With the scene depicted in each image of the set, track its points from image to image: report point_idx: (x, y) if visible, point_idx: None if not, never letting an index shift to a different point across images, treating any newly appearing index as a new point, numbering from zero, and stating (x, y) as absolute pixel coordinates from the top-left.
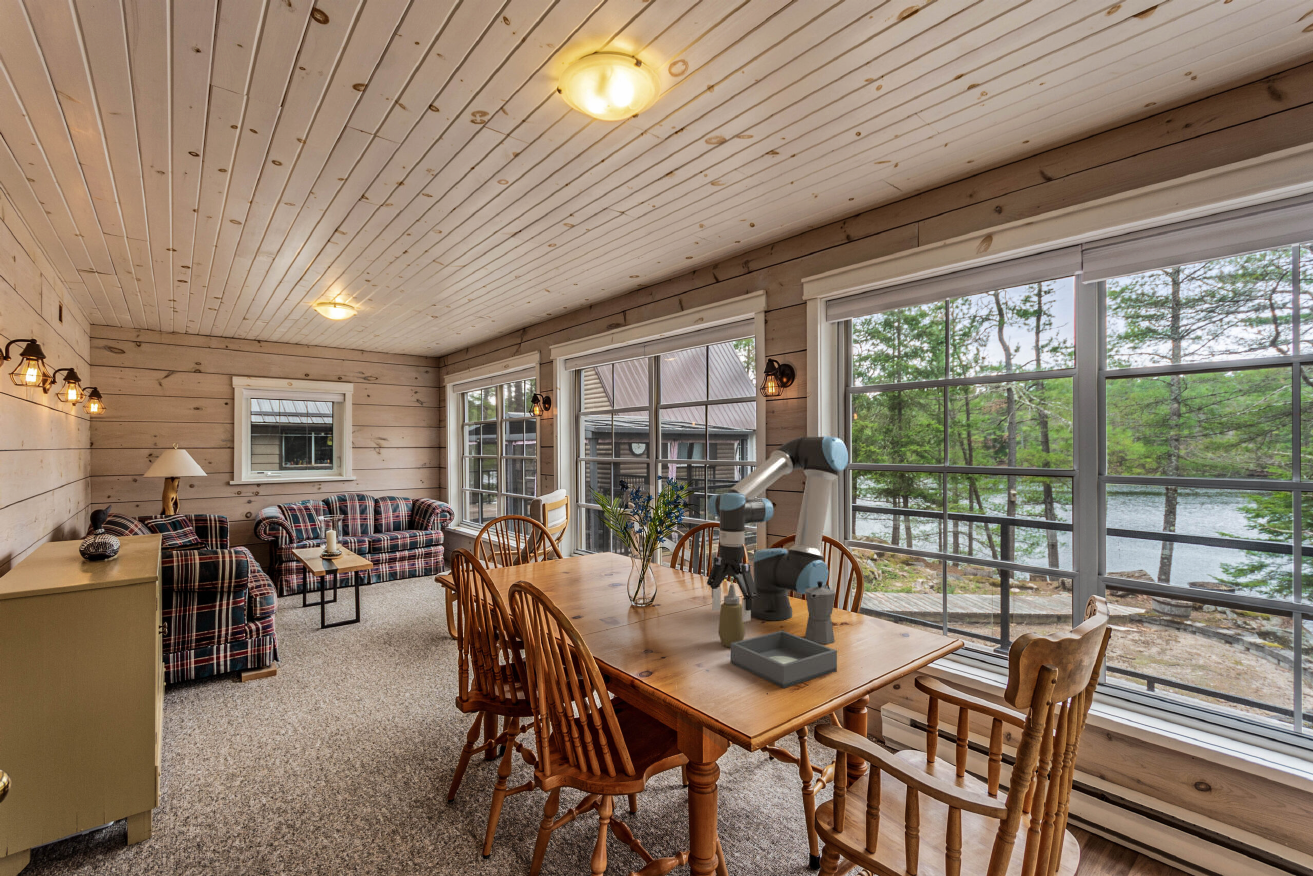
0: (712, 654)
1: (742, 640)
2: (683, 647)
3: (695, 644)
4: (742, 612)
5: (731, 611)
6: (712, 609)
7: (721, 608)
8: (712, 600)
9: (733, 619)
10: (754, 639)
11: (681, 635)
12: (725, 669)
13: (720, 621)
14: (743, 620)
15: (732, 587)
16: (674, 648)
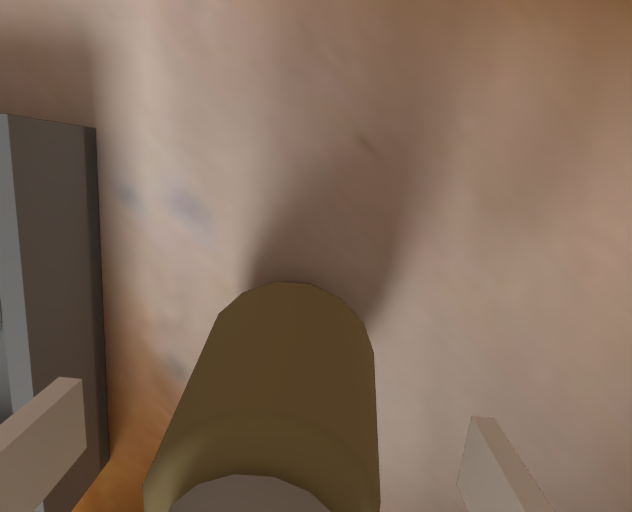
0: (252, 146)
1: (12, 227)
2: (444, 88)
3: (430, 183)
4: (14, 434)
5: (182, 416)
6: (493, 423)
7: (314, 406)
8: (543, 497)
9: (191, 379)
10: (4, 313)
11: (597, 225)
12: (39, 37)
13: (317, 330)
14: (51, 383)
15: None
16: (470, 27)
